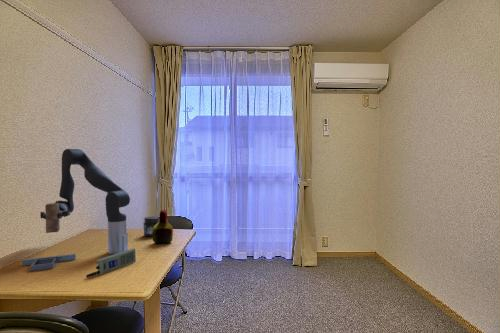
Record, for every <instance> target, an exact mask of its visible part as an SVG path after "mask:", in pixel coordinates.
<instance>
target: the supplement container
mask: <svg viewBox="0 0 500 333" xmlns="http://www.w3.org/2000/svg"><path fill="white" fill-rule="evenodd" d="M143 219H144V220H143V221H144V222H143V236H144V237H145V238H153V236H152V231H153V227H154V226H155V225H156V224H157V223H158V222H159V216H156V215H154V216H146V217H143Z"/></svg>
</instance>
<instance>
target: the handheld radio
mask: <svg viewBox="0 0 500 333" xmlns="http://www.w3.org/2000/svg"><path fill="white" fill-rule="evenodd" d="M136 258H137V257H136V248H131V249H128V250H126V251H123V252H120V253H117V254H110V255H107V256H105V257H102V258H99V259H96V260H95V262H96V264H95V265H97V266H96V267H95V269H96V271H94V272H92V273H88V274H86V275H85V276H86V278H87V279H89V278H91V277H94V276H96V275H100V276H101V275H104V274H107V273H109V272H113V271H114V270H117V269H120V268H123V267H126V266H128V265H130V264H131V265H132V264H133V263H136V261H137V259H136Z"/></svg>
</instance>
